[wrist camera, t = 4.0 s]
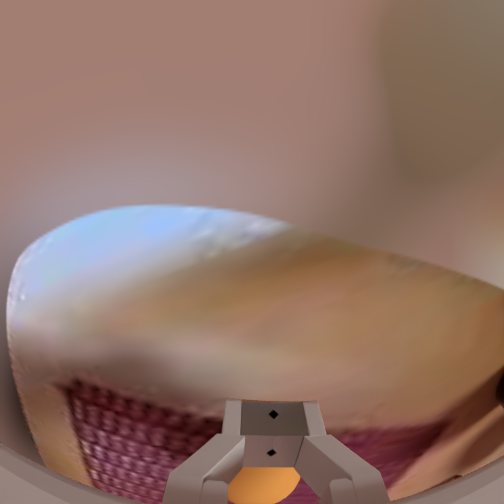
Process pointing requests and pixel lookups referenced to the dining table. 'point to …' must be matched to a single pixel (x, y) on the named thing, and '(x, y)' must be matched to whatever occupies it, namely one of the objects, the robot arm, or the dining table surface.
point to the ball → (262, 485)
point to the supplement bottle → (501, 393)
